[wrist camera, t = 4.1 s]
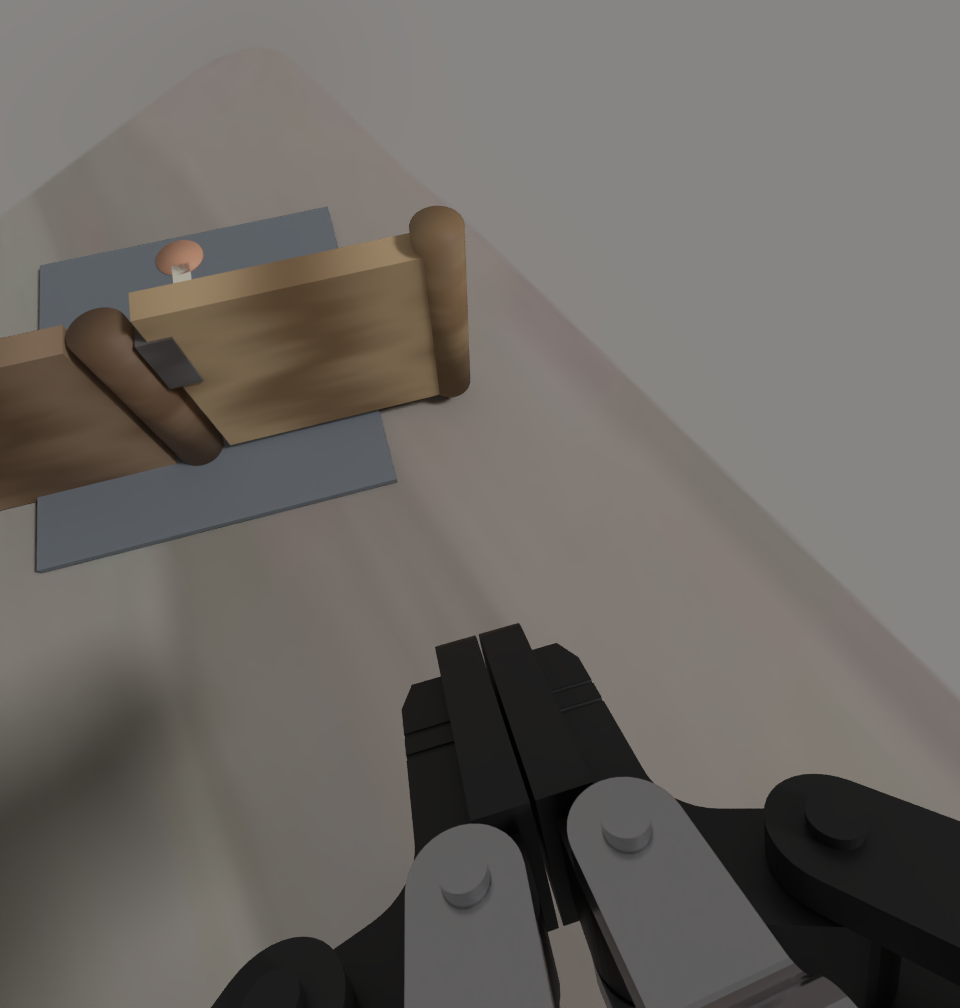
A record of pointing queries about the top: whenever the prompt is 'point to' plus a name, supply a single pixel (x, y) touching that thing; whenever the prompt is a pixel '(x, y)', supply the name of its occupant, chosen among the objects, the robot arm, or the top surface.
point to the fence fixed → (89, 410)
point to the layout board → (240, 467)
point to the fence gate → (316, 331)
